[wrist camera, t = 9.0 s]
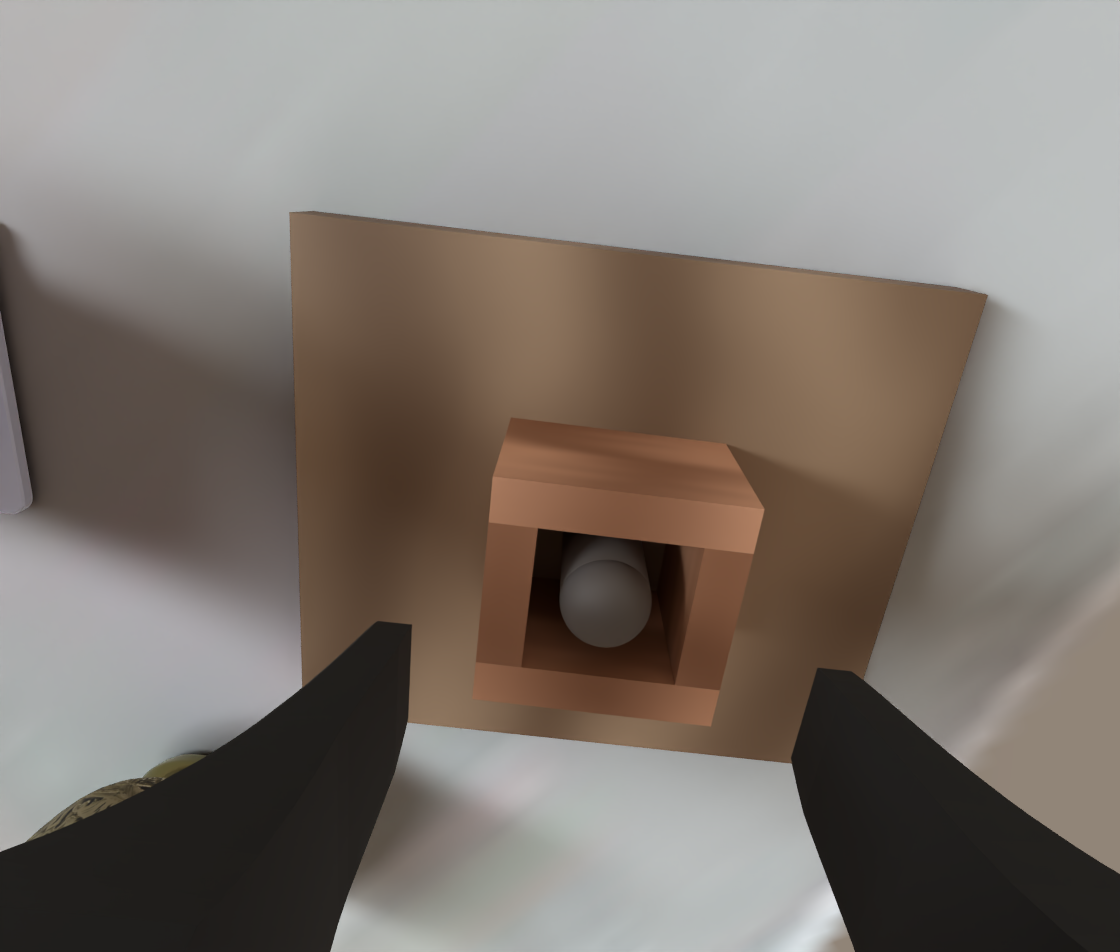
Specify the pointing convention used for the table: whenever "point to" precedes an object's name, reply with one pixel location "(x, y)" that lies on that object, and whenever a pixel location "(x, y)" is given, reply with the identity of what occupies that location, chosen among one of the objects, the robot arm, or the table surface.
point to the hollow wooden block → (622, 512)
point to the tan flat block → (616, 404)
